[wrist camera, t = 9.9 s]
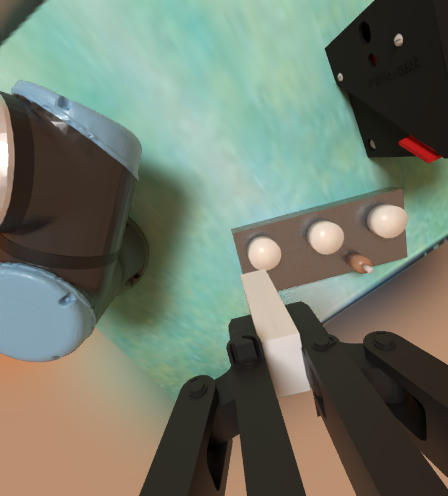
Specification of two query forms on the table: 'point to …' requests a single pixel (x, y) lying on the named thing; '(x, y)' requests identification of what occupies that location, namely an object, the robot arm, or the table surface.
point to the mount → (307, 258)
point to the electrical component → (397, 76)
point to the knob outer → (387, 220)
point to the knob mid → (325, 237)
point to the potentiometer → (360, 263)
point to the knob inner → (264, 253)
